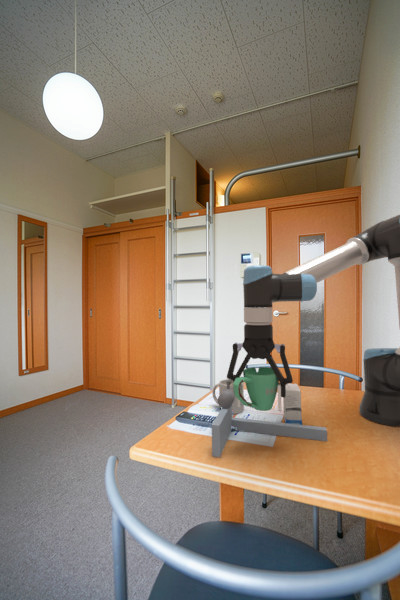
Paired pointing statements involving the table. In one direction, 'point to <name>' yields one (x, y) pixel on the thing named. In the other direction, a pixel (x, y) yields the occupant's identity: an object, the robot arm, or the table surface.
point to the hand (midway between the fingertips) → (259, 407)
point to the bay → (254, 425)
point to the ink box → (292, 405)
